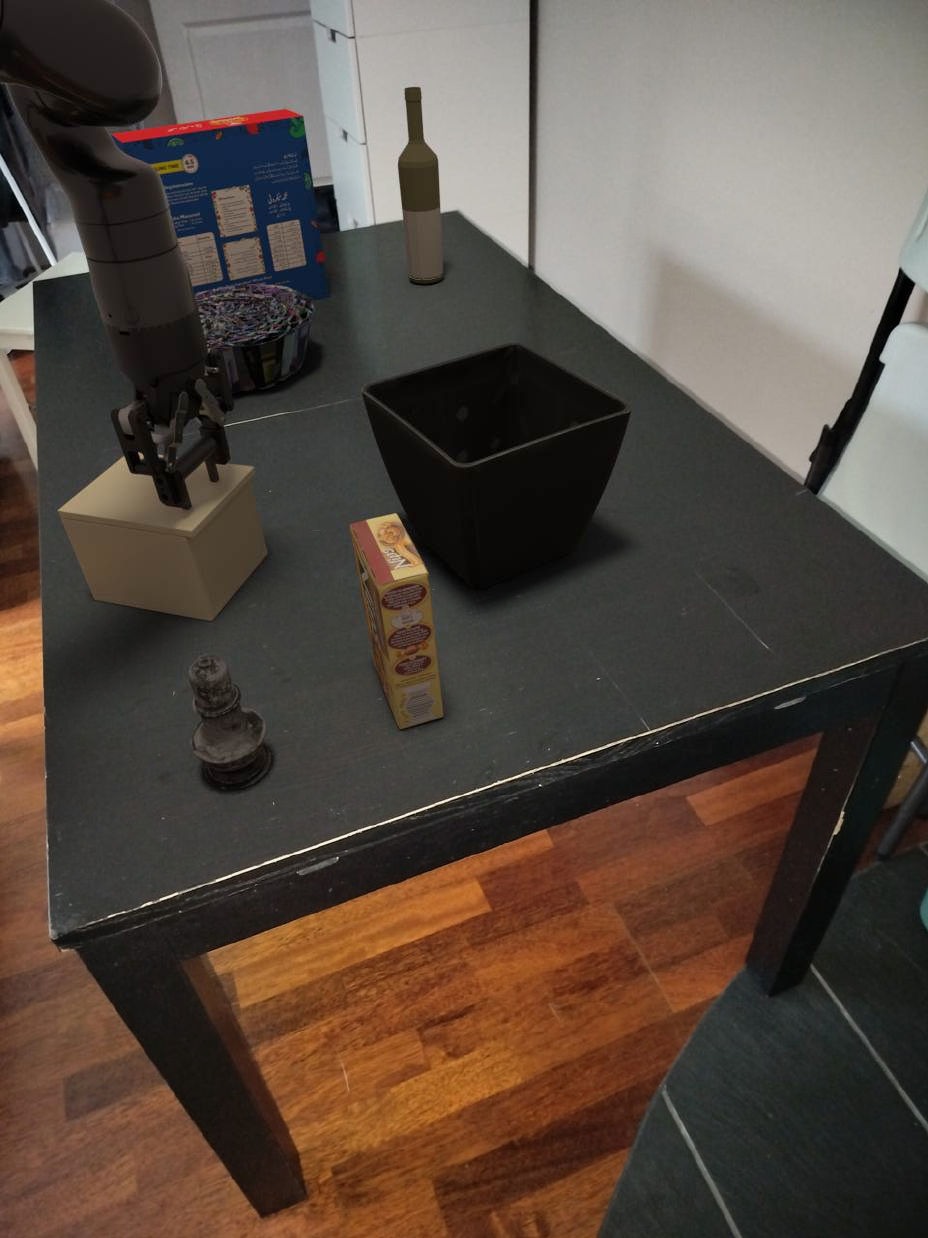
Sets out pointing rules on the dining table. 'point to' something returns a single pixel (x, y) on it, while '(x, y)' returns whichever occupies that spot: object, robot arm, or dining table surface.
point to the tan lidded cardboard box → (172, 561)
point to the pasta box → (239, 199)
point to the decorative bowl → (256, 332)
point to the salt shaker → (226, 728)
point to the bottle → (420, 197)
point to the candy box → (399, 618)
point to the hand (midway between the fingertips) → (198, 482)
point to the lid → (137, 501)
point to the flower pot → (497, 456)
